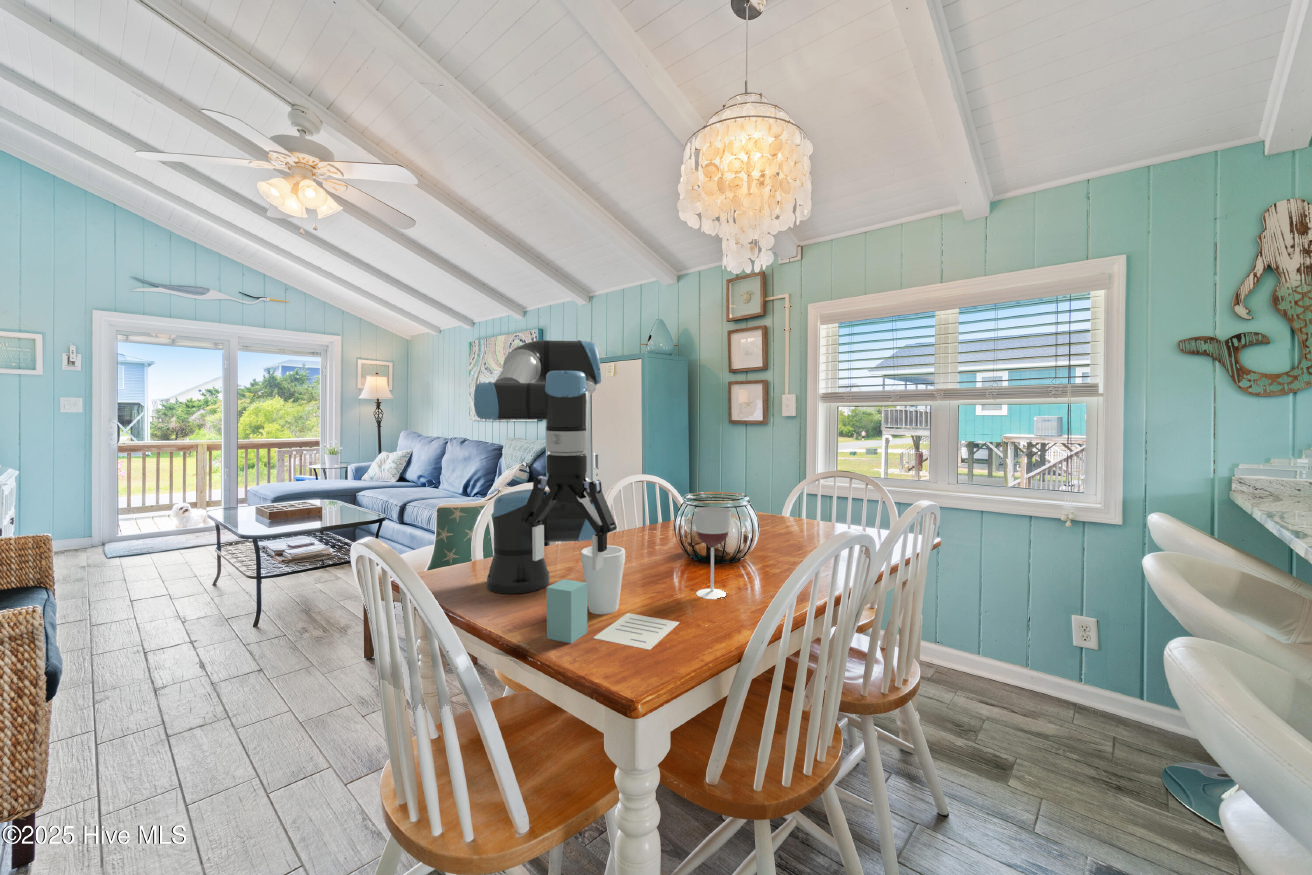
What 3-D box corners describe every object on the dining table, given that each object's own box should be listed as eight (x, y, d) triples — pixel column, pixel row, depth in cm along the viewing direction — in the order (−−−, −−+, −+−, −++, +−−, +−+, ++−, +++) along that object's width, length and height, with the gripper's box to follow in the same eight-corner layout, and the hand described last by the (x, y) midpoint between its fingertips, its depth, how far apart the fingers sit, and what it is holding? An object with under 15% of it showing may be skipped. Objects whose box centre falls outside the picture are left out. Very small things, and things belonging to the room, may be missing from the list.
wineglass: (736, 597, 126) (736, 511, 125) (701, 601, 123) (701, 513, 123) (722, 586, 134) (722, 506, 133) (689, 590, 131) (689, 507, 130)
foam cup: (617, 619, 112) (617, 557, 112) (575, 616, 114) (575, 555, 114) (629, 603, 122) (629, 546, 121) (589, 600, 124) (589, 544, 123)
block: (563, 628, 108) (563, 579, 107) (587, 633, 105) (587, 582, 105) (547, 639, 103) (546, 587, 102) (571, 644, 100) (571, 591, 100)
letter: (592, 638, 103) (592, 637, 103) (627, 613, 115) (627, 612, 115) (649, 650, 98) (649, 649, 98) (679, 623, 110) (679, 622, 110)
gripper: (501, 451, 104) (502, 560, 106) (614, 458, 94) (614, 578, 95) (526, 448, 111) (527, 550, 112) (634, 454, 100) (634, 566, 102)
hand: (567, 563), depth 104 cm, fingers open, 13 cm apart
